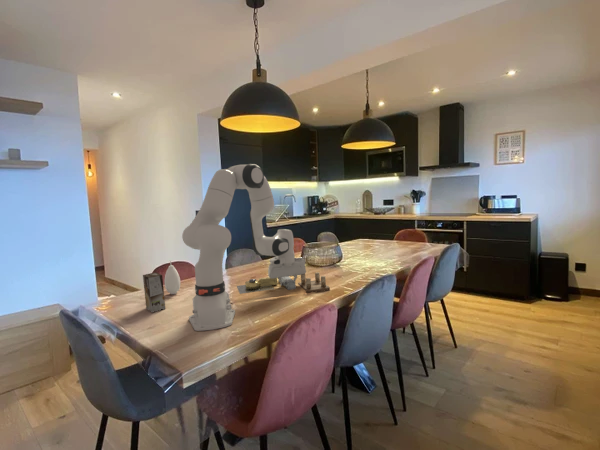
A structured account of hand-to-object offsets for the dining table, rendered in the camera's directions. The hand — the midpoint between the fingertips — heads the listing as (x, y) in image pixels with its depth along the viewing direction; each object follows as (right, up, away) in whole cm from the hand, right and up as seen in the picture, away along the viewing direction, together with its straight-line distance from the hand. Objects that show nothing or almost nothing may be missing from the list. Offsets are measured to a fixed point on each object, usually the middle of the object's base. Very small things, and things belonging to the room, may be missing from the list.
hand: (287, 284), depth 173 cm
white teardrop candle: (-61, -5, 0) cm, 61 cm away
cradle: (+14, -1, -3) cm, 14 cm away
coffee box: (-61, -7, -23) cm, 65 cm away
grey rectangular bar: (-1, -1, +2) cm, 3 cm away
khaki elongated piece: (-14, -1, +1) cm, 14 cm away
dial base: (-19, -3, 0) cm, 19 cm away
